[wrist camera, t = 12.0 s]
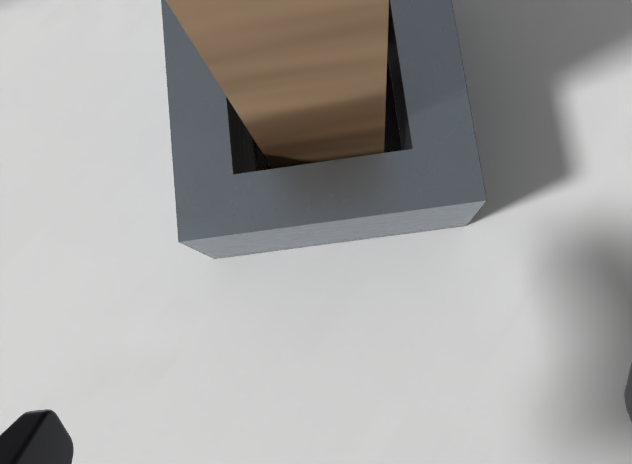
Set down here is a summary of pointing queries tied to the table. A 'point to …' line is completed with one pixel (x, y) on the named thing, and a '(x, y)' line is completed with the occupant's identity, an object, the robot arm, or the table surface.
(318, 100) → the walnut peg
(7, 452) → the robot arm
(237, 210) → the square collar
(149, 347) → the table surface
